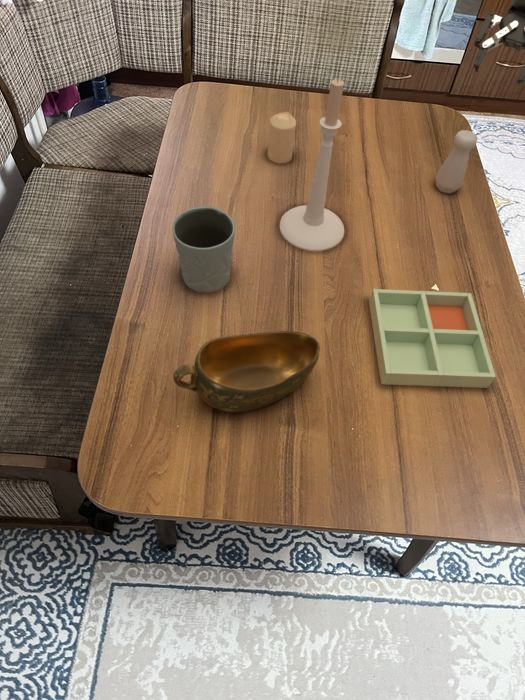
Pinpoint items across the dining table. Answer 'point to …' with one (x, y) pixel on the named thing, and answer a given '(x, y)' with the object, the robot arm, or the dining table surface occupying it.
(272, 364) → the creamer
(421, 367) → the grid
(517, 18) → the robot arm
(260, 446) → the dining table surface
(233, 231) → the grey green cup
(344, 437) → the dining table surface
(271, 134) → the candle
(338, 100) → the candlestick
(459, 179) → the salt shaker
